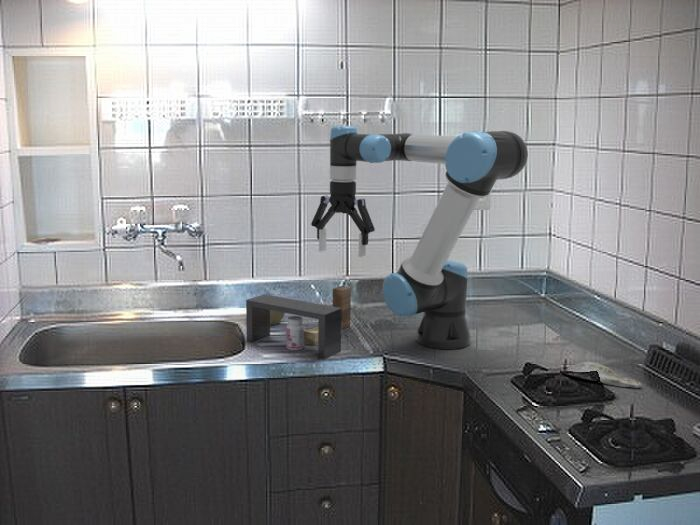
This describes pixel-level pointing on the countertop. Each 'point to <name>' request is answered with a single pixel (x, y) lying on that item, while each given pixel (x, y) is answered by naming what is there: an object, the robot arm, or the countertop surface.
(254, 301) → the riser shelf
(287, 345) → the pill bottle
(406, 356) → the countertop surface
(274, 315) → the flower pot
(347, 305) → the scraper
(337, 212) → the robot arm
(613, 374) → the stone
